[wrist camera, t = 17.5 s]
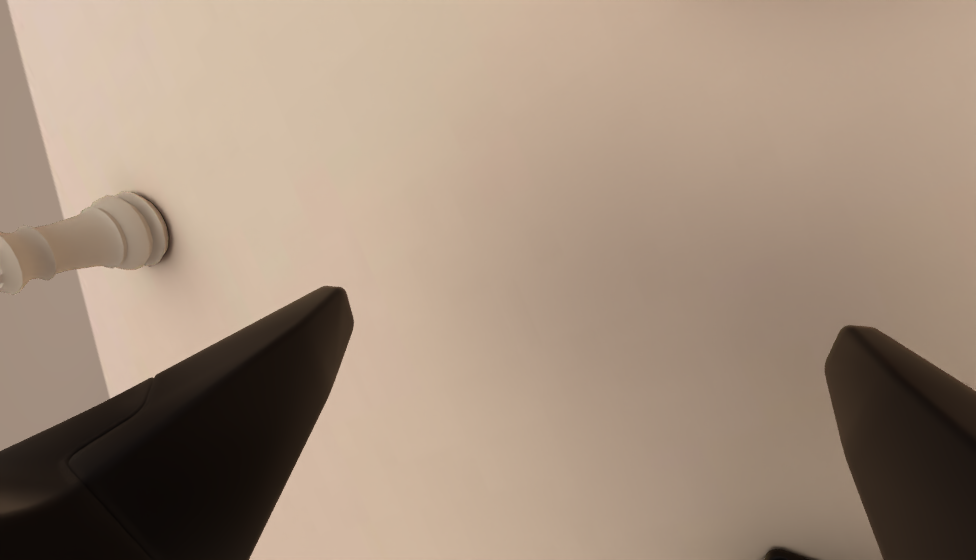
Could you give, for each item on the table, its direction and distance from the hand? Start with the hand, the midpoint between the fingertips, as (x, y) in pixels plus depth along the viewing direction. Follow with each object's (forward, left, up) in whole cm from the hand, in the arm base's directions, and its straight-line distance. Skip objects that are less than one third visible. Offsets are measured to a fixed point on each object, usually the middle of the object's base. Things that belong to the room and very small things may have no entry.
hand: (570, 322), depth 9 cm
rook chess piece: (+27, +6, -11) cm, 30 cm away
